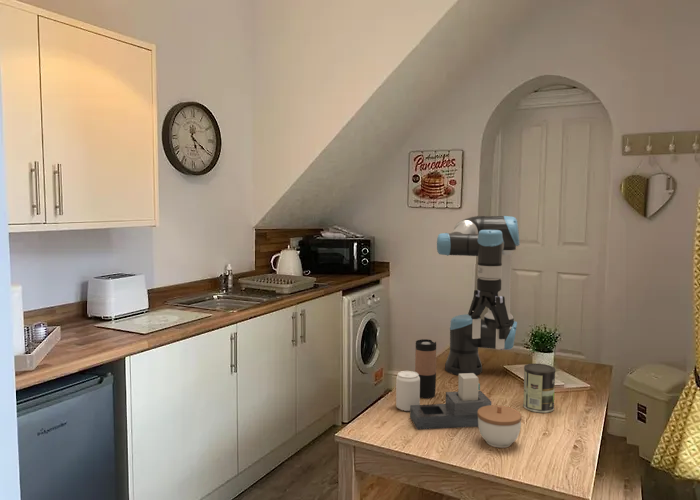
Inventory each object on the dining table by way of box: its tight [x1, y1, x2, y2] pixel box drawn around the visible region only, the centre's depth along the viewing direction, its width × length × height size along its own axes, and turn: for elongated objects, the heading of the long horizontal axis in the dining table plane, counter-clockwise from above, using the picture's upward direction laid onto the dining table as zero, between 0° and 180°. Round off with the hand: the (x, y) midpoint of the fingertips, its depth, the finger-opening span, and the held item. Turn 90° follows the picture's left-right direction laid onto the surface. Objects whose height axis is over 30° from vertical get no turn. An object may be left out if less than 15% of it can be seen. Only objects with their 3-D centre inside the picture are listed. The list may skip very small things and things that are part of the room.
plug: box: [457, 373, 481, 401], centre depth 180 cm, size 5×6×11 cm
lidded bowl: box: [477, 404, 523, 449], centre depth 164 cm, size 13×13×11 cm
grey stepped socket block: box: [409, 390, 492, 431], centre depth 179 cm, size 10×24×8 cm, turn 97°
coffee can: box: [522, 363, 556, 414], centre depth 191 cm, size 10×10×14 cm
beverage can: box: [395, 370, 421, 412], centre depth 191 cm, size 8×8×12 cm
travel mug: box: [414, 338, 437, 399], centre depth 202 cm, size 8×8×20 cm
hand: (487, 343), depth 179 cm, fingers open, 13 cm apart
